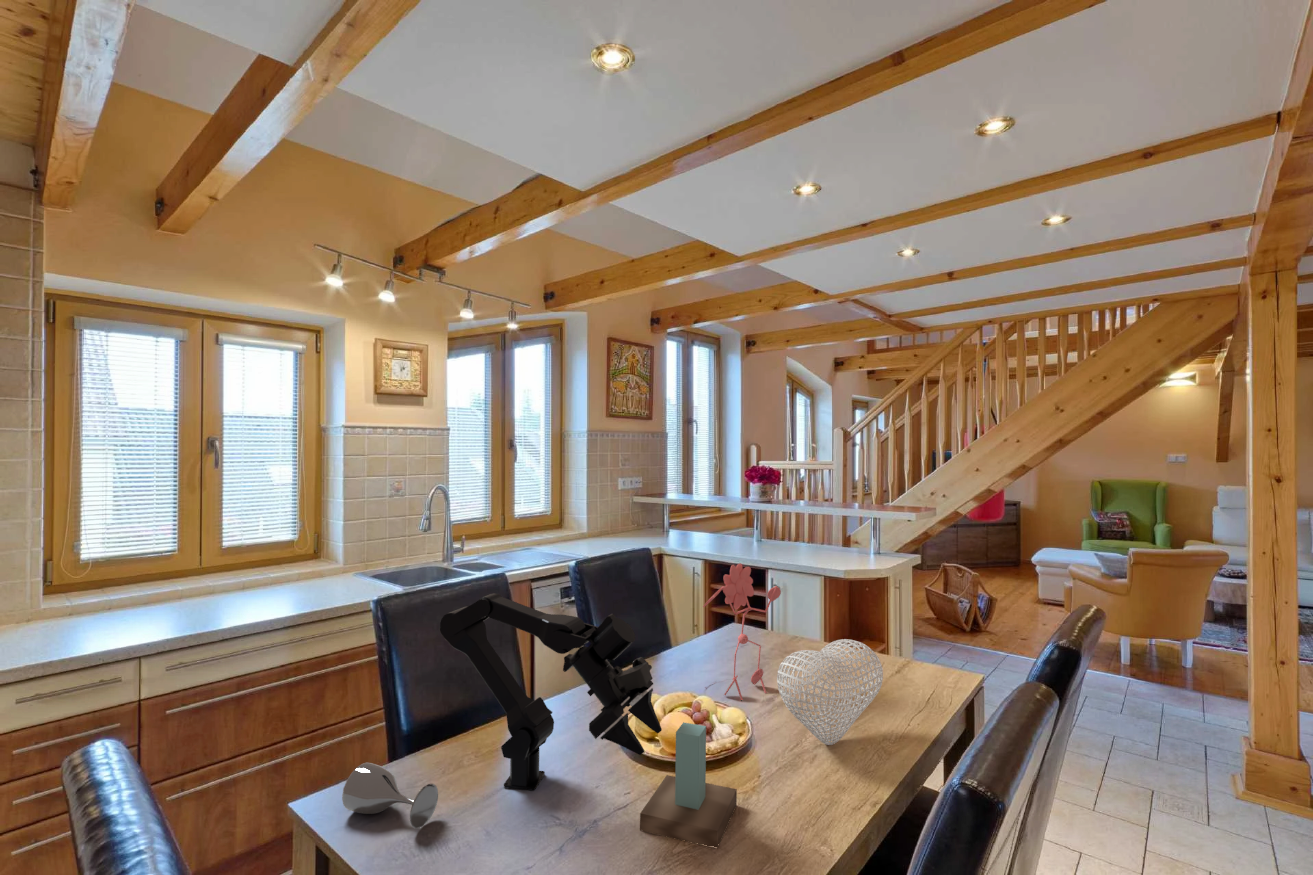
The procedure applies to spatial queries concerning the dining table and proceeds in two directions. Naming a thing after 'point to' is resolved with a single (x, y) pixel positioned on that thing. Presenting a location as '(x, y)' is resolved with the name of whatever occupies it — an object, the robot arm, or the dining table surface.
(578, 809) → the dining table surface
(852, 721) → the heart
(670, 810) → the walnut pedestal
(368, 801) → the wine glass
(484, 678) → the robot arm
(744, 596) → the flower headed figure
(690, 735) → the teal block
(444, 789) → the dining table surface
